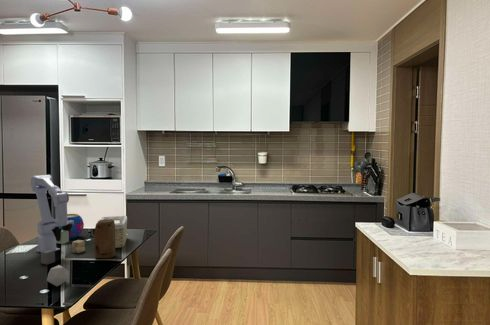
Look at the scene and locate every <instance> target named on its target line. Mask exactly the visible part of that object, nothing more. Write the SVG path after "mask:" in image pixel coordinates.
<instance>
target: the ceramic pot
mask: <svg viewBox="0 0 490 325" xmlns="http://www.w3.org/2000/svg"><path fill="white" fill-rule="evenodd" d="M69 220H74V224H70V225H72V228H71V230H70V232H69V240H71V239H75V238H77V237H79V236H80V235H81V234H82V233H83V232H84V231H83V230H84V228H85V227H84V226H85V224H84V220H83V218H82V216H81V215H80V214H77V213H67V221H69ZM59 228H60V229H62V230H63V228H62V227H59Z"/></svg>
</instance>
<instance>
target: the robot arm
mask: <svg viewBox="0 0 490 325" xmlns="http://www.w3.org/2000/svg"><path fill="white" fill-rule="evenodd" d="M30 186H31V189H32V192H35V195H36V199H37V203H38V204H37V205H38V209H39V213H40V217H41V220H40V221H39V222H38V223H37V233H38V238H37V250H36V252H39V253H41V252H42V251H46V250H55V252H56V251H59V250H61V248H59V247H57V243H56V241H60V239H61V230H62V229H60V228H59V227H62V228H63V230H66V231H69V232H70V230H71V228H72V225H70V224H74V220H69V221H67V214H68V203H69V200H70V197H69V196H70V195H69V194H68V192H67V191H62V189H61V188H60V187H59V186H58V185H55V184H54V182H53V178H52V175H51V174H41V175H32V176H31V177H30ZM47 191H48V192H47ZM47 193H48V194H49V195H50V197H51V198H52V201H53V207H54V210H55V211H54V212H55V218H53V217H52V214H51V209H50V206H49V201H48V198H47Z"/></svg>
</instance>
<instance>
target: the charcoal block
mask: <svg viewBox="0 0 490 325" xmlns="http://www.w3.org/2000/svg"><path fill="white" fill-rule="evenodd" d="M40 263H41V264H42V265H50V264H52V263H56V251H55V250H46V251H42V252H40Z"/></svg>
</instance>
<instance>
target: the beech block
mask: <svg viewBox="0 0 490 325" xmlns="http://www.w3.org/2000/svg"><path fill="white" fill-rule="evenodd" d="M71 245H72V246H71V247H72V253H73V254H74V253H76V254H80V253H84V252H85V251H86V247H85V245H86V243H85V240H82V239H77V240H74V241H72V243H71Z"/></svg>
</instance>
